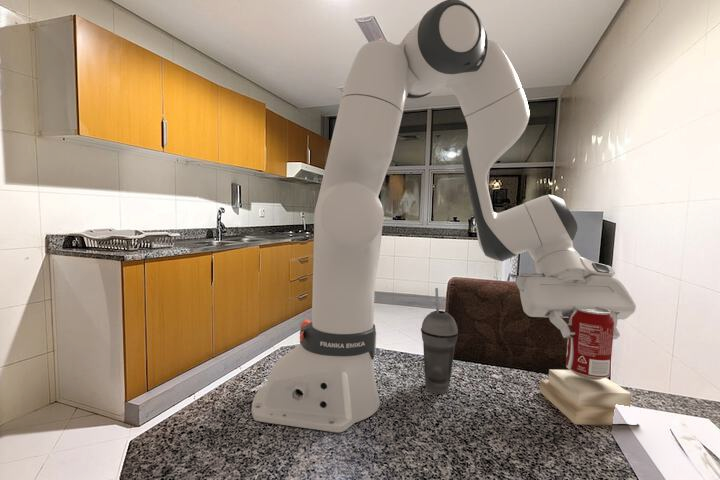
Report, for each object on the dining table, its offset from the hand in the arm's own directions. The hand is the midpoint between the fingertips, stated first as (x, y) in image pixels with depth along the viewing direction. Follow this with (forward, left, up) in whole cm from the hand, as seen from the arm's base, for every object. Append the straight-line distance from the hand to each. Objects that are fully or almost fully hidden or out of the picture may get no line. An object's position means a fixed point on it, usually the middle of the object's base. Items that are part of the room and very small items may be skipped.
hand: (592, 337), depth 62 cm
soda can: (0, +1, -7) cm, 7 cm away
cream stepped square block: (0, +1, -13) cm, 13 cm away
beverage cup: (-26, +7, -13) cm, 30 cm away
